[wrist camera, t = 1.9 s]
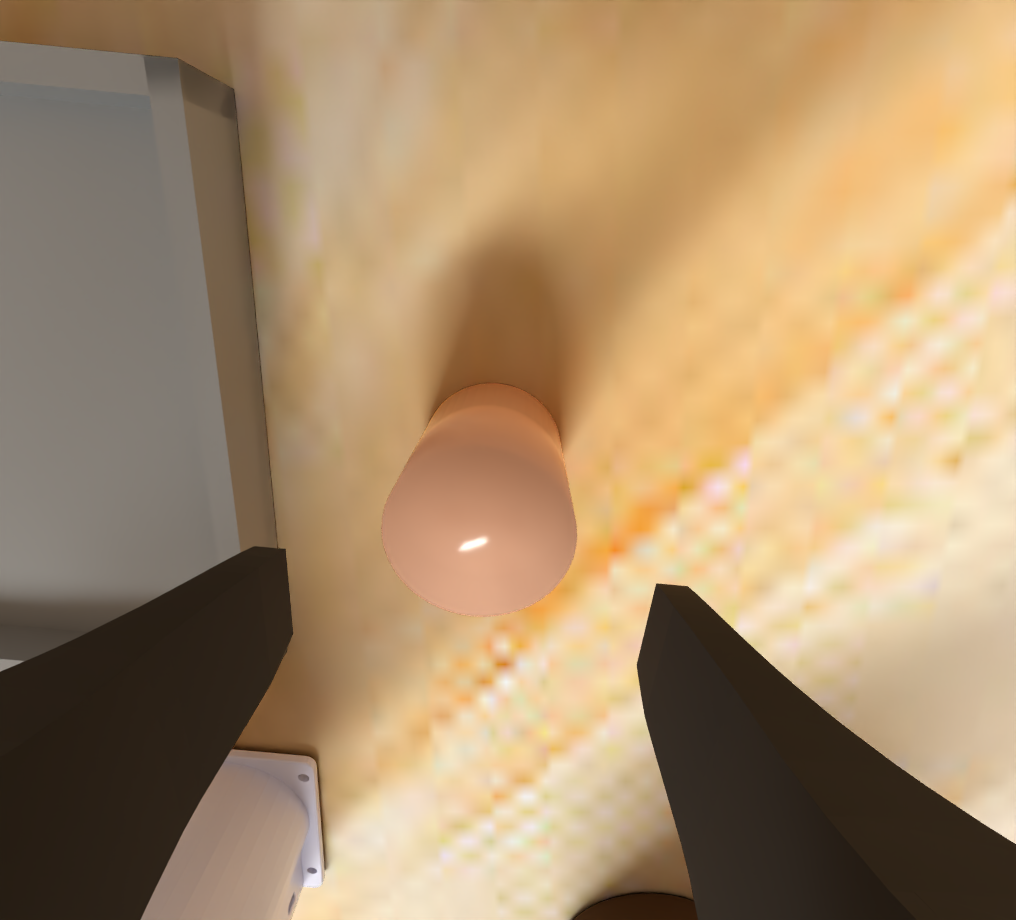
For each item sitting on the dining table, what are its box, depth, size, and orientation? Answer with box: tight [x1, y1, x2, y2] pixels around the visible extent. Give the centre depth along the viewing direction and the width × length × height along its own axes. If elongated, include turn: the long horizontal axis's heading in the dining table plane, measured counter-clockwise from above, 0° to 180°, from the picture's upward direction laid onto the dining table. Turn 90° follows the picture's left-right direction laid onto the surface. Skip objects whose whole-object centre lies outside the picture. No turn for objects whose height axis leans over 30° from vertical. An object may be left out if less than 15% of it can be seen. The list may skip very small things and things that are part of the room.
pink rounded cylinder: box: [381, 383, 577, 617], centre depth 15 cm, size 5×5×6 cm
